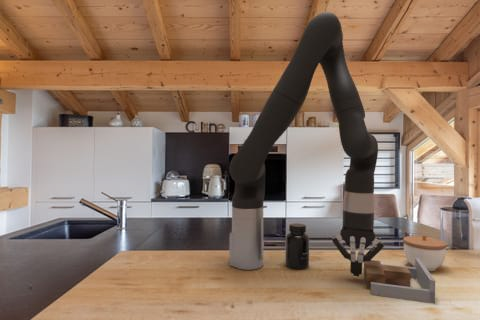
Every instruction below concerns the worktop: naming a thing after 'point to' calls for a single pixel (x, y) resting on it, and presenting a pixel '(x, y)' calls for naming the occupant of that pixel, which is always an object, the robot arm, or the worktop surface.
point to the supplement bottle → (297, 247)
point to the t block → (385, 274)
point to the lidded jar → (425, 251)
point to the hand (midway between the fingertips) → (356, 275)
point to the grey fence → (410, 293)
